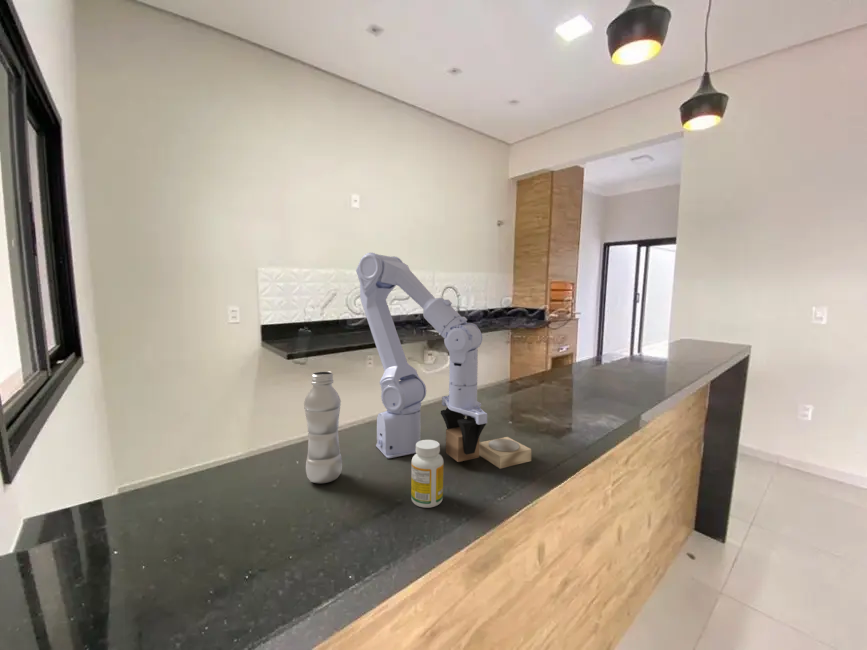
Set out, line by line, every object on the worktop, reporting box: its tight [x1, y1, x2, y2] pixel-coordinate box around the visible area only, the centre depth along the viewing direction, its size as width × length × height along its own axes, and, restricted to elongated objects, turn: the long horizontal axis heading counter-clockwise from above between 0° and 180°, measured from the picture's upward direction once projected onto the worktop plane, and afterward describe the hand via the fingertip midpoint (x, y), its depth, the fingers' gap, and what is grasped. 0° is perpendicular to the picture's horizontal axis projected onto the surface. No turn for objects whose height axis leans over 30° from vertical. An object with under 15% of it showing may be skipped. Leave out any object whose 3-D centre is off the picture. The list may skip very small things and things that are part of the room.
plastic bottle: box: [303, 370, 343, 484], centre depth 70 cm, size 6×7×20 cm
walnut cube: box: [445, 427, 480, 463], centre depth 78 cm, size 5×5×5 cm
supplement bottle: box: [410, 439, 445, 509], centre depth 63 cm, size 5×5×10 cm
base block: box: [479, 436, 532, 469], centre depth 80 cm, size 8×8×3 cm
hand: (462, 448), depth 78 cm, fingers closed on walnut cube, 5 cm apart
